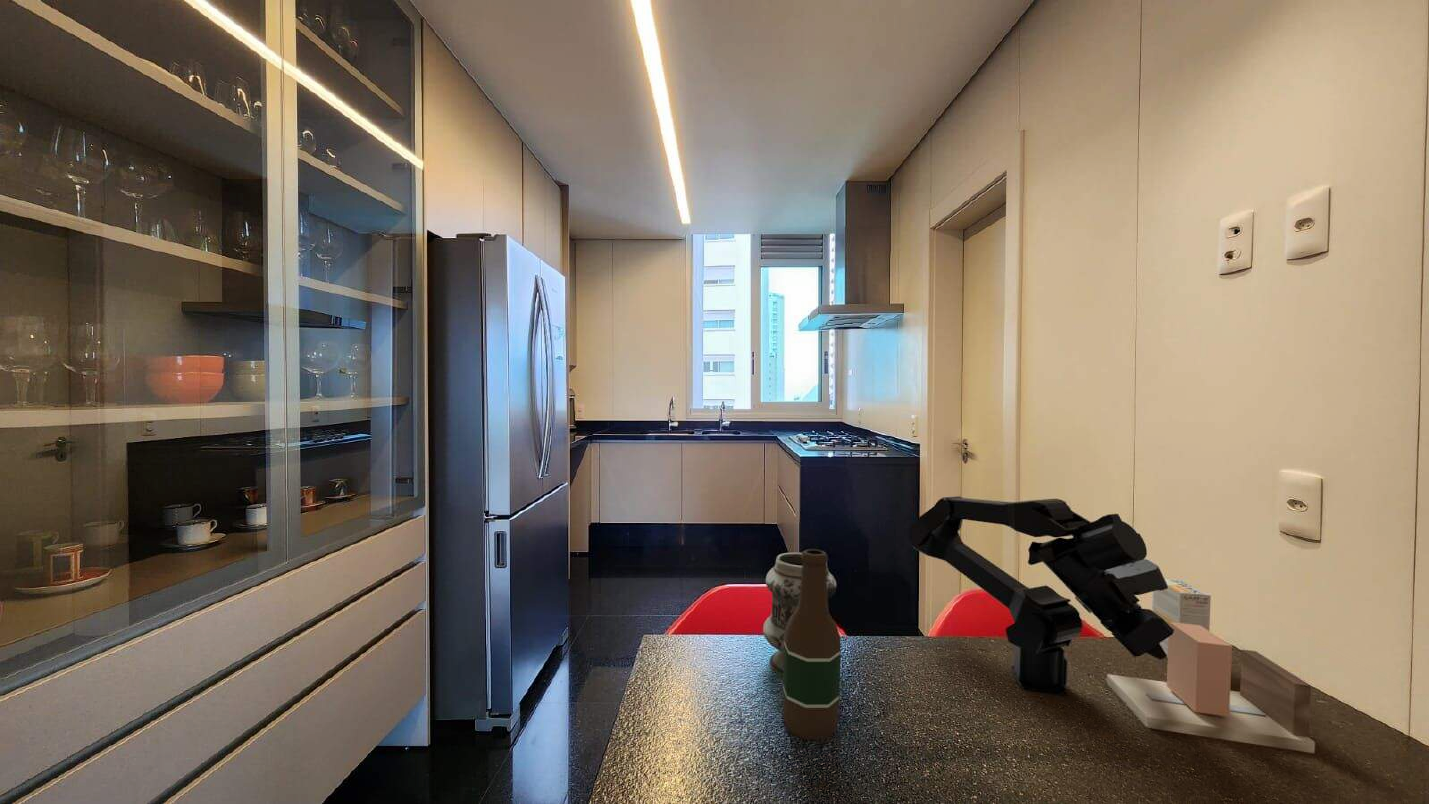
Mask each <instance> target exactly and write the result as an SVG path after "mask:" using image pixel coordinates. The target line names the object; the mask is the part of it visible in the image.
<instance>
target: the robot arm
mask: <svg viewBox="0 0 1429 804" xmlns="http://www.w3.org/2000/svg"><path fill="white" fill-rule="evenodd" d="M963 520H966V521H971V522H973V521H974V522H981V523H989V524H994V525H995V524H996V525H1003V526H1006V527H1009V528H1010V529H1011V530H1014V531H1015V532H1018V533H1021V534H1024V535H1027V536H1030V537H1034V538H1043V537H1051V538H1055V539H1051V540H1048V541H1045V542H1037V541H1032V542H1031V544H1030V545H1029V547H1028V561H1027V564H1028V565H1029V566H1034V565H1037V564H1039V563H1043V565H1045V566H1046V567H1047V568H1048V569H1049V570H1050V571H1051V572H1052V573H1053V574H1054V575H1055V576H1056V577H1057V578H1058V579H1059V581H1061V582H1062V583H1063V584H1064V585H1065V587H1066V588H1067V589H1068V590H1069V591H1070V592H1071V593H1072V594H1073V595H1074V596H1075V600H1076V601H1077V602H1078V603H1079V604H1080V606H1082V607H1083V608H1084V609H1085V610H1086V611H1087V613H1089V614H1093V615H1094V616H1095V617H1096V618H1097V620H1099V621H1100V622H1099V623H1100V624H1101V625H1102V626H1103V627H1104V628H1105V630H1107V631H1108V632H1110V633H1111V634H1112V637H1114V638H1115V639H1116V640H1117V641H1118V642H1119V643H1120V645H1122V646H1123V647H1124V649H1126V650H1127V651H1128V652H1129V653H1130V654H1131V655H1132V656H1133V657H1141V656H1142V655H1144V654H1145V653H1146V654H1147V655H1150V656H1151V657H1154V658H1155V659H1157V660H1160V661H1161V660H1163V659H1165V658H1166V656H1167V655H1166V653H1165V652H1164V650H1163V648H1162V647H1161V645H1160V642H1162V641H1163V640H1165V639H1166V638H1168V637H1169V636H1171V635H1172V634H1173V632H1174V629H1173V628H1172V627H1171V626H1170V625H1169V624H1168V623H1167V622H1166V621H1165V620H1164V619H1162V618H1161V617H1160V616H1158V615H1157V614H1156V613H1154V612H1153V611H1152V609H1149V608H1142V605H1140V604H1139V603H1138V602H1140V601H1141V600H1140V599H1139V598H1138V596H1140V595H1145V594H1148V593H1153V591H1156V590H1159V591H1162V590H1165V589H1167V588H1168V585H1167V583H1166V581H1165V577H1164V575H1163V573H1162V571H1161V569H1160V566H1159V565H1157V564H1155V563H1154V562H1152V561H1151V560H1148V559H1146V557H1147V554H1148V550H1147V546H1146V543H1145V541H1144V539H1143V537H1142V536H1141V534H1140V533H1138V532H1137V531H1136V530H1135V529H1134V527H1133V526H1131V525H1130V524H1129V523H1127V522H1126V521H1123V519H1122V518H1121V517H1120V515H1119V514H1118V513H1110V514H1105V515H1103V516H1101V517H1100V518H1098V519H1096V520H1094V521H1090V520H1089V519H1086V518H1085V517H1083V516H1081V514H1078V513H1076V512H1075V511H1073V510H1072V508H1071V507H1070V506H1069V505H1068V504H1067V502H1066V501H1065V500H1062V499H1059V498H1046V499H1033V500H1032V499H1030V500H1023V501H1013V502H1012V501H1002V500H1000V501H999V500H988V499H979V498H966V497H961V496H960V495H959V496H946V497H941V498H940V499H938V500H937V502H936V503H935V504H934V505H933V507H931V508H930V509H929V510H927V511H926V512H925V513H923V514H922V515H920V516H919V517H918V518H917V519H916V521H914V522H912V524H911V525H910V527H909V529H908V535H907V536H908V539H909V544H910V545H911V546H912V547H913V549H914V550H916V551H918V552H919V553H922V554H923V555H925V556H928V557H931V558H935V559H938V560H940V561H941V560H942V561H944V562H946V563H948V565H949V566H951V567H953V568H954V569H955V570H957V571H958V572H959V573H960V574H962V575H963V576H965V578H967V579H968V580H970V581H971V582H973V584H975V585H976V586H978V587H979V588H981V589H982V590H983V591H985V592H986V593H987V594H988V595H990V596H991V597H992V598H994V599H995V600H997V601H998V603H1000V604H1002V605H1004V607H1006V608H1007V609H1008V610H1009V613H1010V615H1011V617H1012V620H1013V621H1014V623H1012V624H1010V625H1008V626H1007V627H1006V628H1005V634H1006V636H1007V640H1008V641H1007V642H1008V643H1010V644H1012V645H1014V654H1013V655H1014V658H1013V660H1014V662H1013V665H1011V666H1010V669H1009V670H1010V672H1011V673H1012V674H1013V676H1014V678H1015V679H1016V682H1017V683H1018V685H1019V686H1020V687H1021V688H1022V689H1025V690H1031V691H1037V692H1038V691H1039V692H1044V693H1052V694H1059V695H1068V689H1066V686H1067V682H1068V659H1067V658H1066V657H1065V650H1064V649H1063V647H1069V646H1071V644H1072V642H1073V640H1074V639H1075V640H1076V639H1077V638H1078V637H1079V636H1080V635H1081V634H1082V631H1083V621H1082V619H1081V615H1080V612H1079V611H1078V609H1077V608H1076V607H1075V606H1074V605H1072V604H1071V603H1070V602H1071V601H1072V600H1071V599H1070V598H1068V597H1067V598H1066V597H1064V596H1062V595H1060V594H1059V593H1058V592H1057V591H1055V590H1054V589H1053V588H1052V587H1050V586H1048V585H1041V586H1035V587H1028V586H1026V585H1025V584H1023V583H1022V582H1020V581H1019V580H1018V579H1016V578H1015V577H1013V576H1012V575H1010V573H1009V574H1008V573H1007V572H1006V571H1004V570H1003V569H1001V568H1000V567H999V566H997V565H996V564H994V563H993V562H992V561H990V560H988V559H987V558H986V557H984V556H983V555H981V554H980V553H978V552H977V551H975V550H973V549H972V548H971V547H970V546H968V545H966V544H965V543H964V542H963V540H962V538H961V535H960V533H959V531H961V529H962V526H963V525H962V524H963ZM1070 536H1071V538H1066V537H1070Z"/></svg>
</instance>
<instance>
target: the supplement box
mask: <svg viewBox="0 0 1429 804" xmlns="http://www.w3.org/2000/svg"><path fill="white" fill-rule="evenodd" d="M1164 579H1165V578H1164ZM1165 581H1166V583H1167V585H1168V588H1167V589H1165V590H1162V591H1159V590H1156V591H1153V592H1152V605H1151V606H1152V609H1151V610H1152V611H1153V612H1154V613H1156V614H1157V615H1158V616H1160V617H1161V618H1162V619H1164V620H1165V621H1166V622H1167V623H1168V624H1169V622H1174V623H1183V624H1192V625H1200V626H1202V627H1203V628H1205V629H1207V630H1208V631H1210V625H1211V603H1212V602H1211V595H1210V594H1209V593H1207V592H1204V591H1202V590H1201V589H1198V588H1196V587H1195V586H1192V585H1191V584H1188V583H1187V582H1184V581H1182V580H1179V579H1178V580H1177V579H1168V578H1167V579H1165ZM1168 642H1169V637H1168V638H1166V639H1165V640H1163V641H1162V642H1160V645H1161V647H1162V648H1163V650H1164V652H1165V653H1166V655H1167V656H1166V657H1165V658H1166V659H1168Z"/></svg>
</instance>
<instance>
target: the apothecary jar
mask: <svg viewBox="0 0 1429 804" xmlns="http://www.w3.org/2000/svg"><path fill="white" fill-rule="evenodd" d="M801 555H802V552H785V553H781V554H778V555H777V556H776V558H775V564H774V566H773V567H772V568H770V570H769V571H768V572H767V574H766V576H765V577H766V578H765V584H766V587H767V589H768V590H769V591H770V593H771V594H772V595H771V596H772V598H771V600H772V601H771V612H770V613H771V614H770V615H769V616H768V617H767V618H766V620H765V622H764V623H763V627H762V630H763V631H762V632H763V636H764V638H765V640H766V641H767V642H768V644H769V645H770V646H772V647H773V648H774V649H775V650H777V651H776V652H774V653H773V654H772V655H771V656H770V658H769V666H770V668H771V669H772V670H773V671H774V672H775V673H776V674H778V675H779V676H782V677H783V661H784V637H785V628H786V625H787V623H788V620H789V618H790V616H791V615H792V614H793V613H794V611H795V610H796V609H797V607H798V602H799V597H800V587H801V576H802V565H803V560H802V559H801ZM826 577H827V602H828V609H829V605H830V604H829V603H830V602H829V601H830V598H831V597H832V596H833V595H834V594H835V593H836V591H837V581H836V579H835V577H834V575H833V574H832V573H831V572H830V571H829V568H828V562H827V563H826Z"/></svg>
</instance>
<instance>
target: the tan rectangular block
mask: <svg viewBox="0 0 1429 804" xmlns="http://www.w3.org/2000/svg"><path fill="white" fill-rule="evenodd" d="M1169 625H1170V626H1171V627H1172V628H1173V629H1174V632H1173V634H1172V635H1171V636H1169V642H1168V658H1167V668H1166V669H1167V670H1166V672H1167V673H1166V682H1167V687H1168V688H1169V689H1171V690H1172V691H1173V692H1174V693H1175V694H1176V695H1177V696H1178V697H1179V698H1180V699H1182V700H1183V701H1184V702H1185V703H1186V704H1187V705H1188V706H1189V707H1190V708H1192V709H1193V710H1194V711H1195V712H1200V713H1207V714H1213V715H1220V716H1227V717H1229V708H1230V691H1231V683H1232V682H1231V680H1232V657H1233V655H1232V654H1233V645H1231V644H1230V643H1228V642H1226V641H1225V640H1223V639H1222V638H1220V637H1219V636H1217V635H1215V634H1214V633H1213V632H1211V631H1210V630H1209V631H1208V630H1207V629H1205V628H1203V627H1202V626H1200V625H1192V624H1183V623H1174V622H1169Z"/></svg>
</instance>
